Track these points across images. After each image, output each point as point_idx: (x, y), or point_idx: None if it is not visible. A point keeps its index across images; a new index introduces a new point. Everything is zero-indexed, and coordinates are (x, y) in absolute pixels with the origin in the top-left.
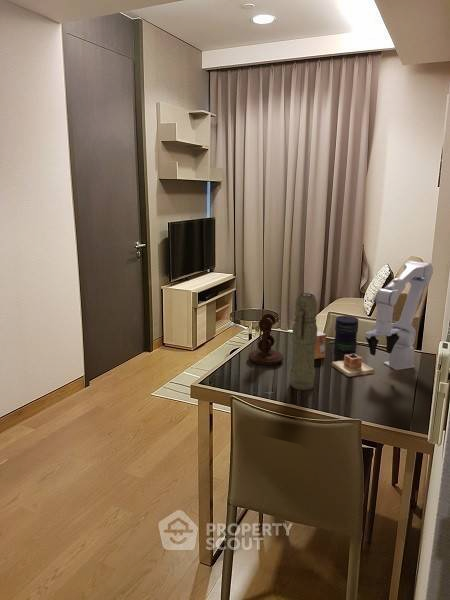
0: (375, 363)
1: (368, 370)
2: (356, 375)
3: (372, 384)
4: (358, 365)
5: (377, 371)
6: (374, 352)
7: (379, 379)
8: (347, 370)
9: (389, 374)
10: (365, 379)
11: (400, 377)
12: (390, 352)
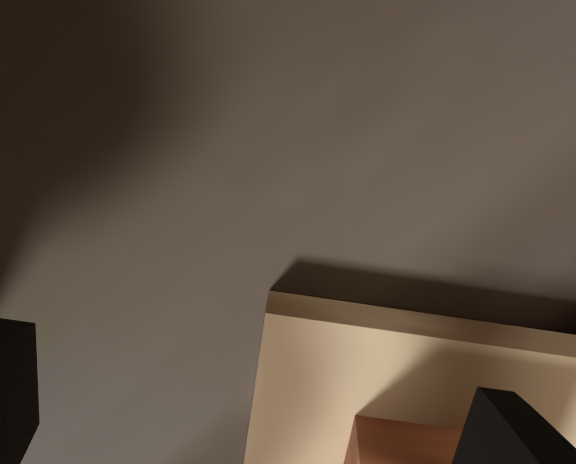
0: (71, 442)
1: (347, 323)
2: (501, 324)
3: (560, 52)
4: (402, 440)
5: (198, 299)
6: (553, 438)
7: (352, 126)
8: (574, 420)
9: (125, 178)
10: (504, 204)
11: (53, 44)
12: (13, 328)
